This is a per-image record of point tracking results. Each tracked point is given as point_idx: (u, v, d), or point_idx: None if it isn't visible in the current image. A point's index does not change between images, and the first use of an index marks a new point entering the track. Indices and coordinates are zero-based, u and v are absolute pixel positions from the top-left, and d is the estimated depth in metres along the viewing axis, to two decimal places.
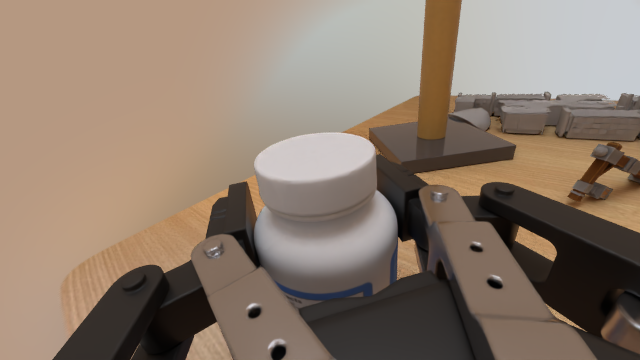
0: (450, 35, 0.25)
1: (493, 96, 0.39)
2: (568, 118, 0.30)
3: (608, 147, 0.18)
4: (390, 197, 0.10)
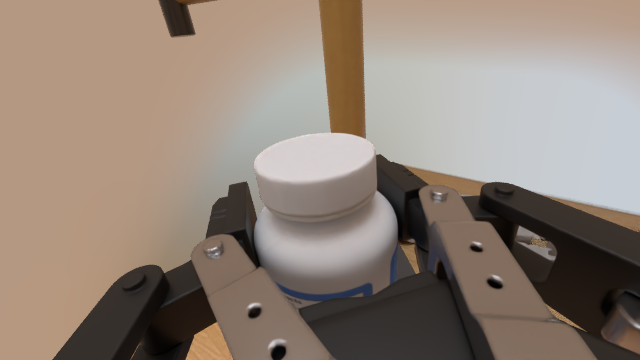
0: None
1: None
2: None
3: None
4: (390, 197, 0.10)
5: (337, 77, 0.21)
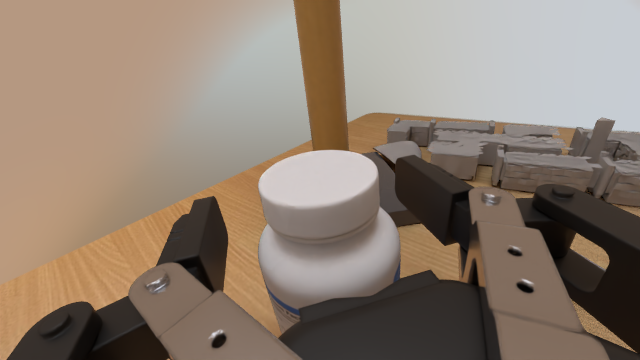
0: (328, 64, 0.19)
1: (430, 125, 0.32)
2: (501, 164, 0.23)
3: None
4: (431, 199, 0.10)
5: None
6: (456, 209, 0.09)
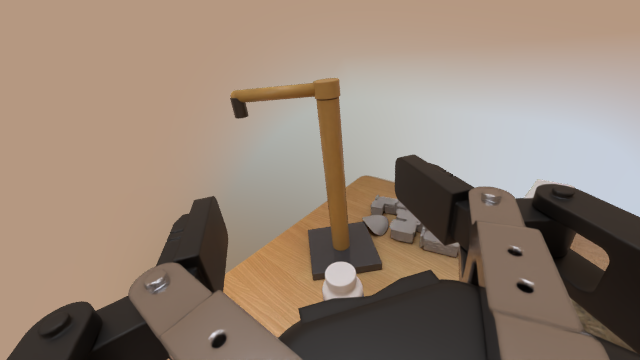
0: (339, 202, 0.44)
1: (395, 204, 0.57)
2: (422, 239, 0.48)
3: None
4: (431, 199, 0.10)
5: (326, 142, 0.39)
6: (456, 209, 0.09)
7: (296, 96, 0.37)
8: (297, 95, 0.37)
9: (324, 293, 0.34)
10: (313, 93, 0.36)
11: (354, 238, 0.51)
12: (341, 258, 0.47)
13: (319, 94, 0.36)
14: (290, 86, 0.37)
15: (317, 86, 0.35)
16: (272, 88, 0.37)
